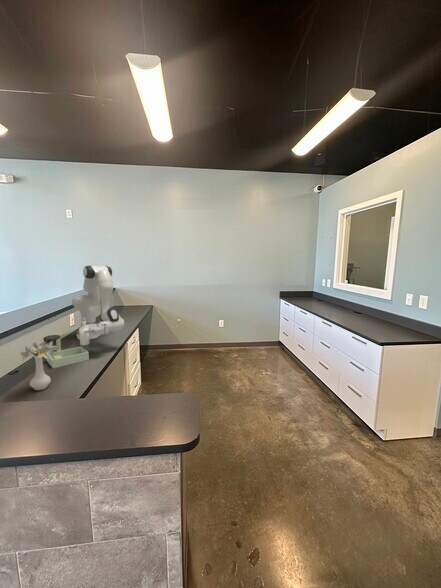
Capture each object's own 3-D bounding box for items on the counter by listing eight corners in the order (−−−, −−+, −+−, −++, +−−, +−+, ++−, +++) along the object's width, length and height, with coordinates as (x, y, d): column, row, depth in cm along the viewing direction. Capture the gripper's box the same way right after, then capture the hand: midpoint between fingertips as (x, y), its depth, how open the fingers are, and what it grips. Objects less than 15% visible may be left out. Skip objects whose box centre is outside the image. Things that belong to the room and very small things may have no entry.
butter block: (53, 361, 169) (53, 356, 168) (60, 360, 172) (59, 354, 171) (56, 365, 164) (55, 359, 164) (63, 363, 167) (62, 357, 166)
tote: (47, 362, 170) (46, 353, 169) (81, 354, 185) (81, 346, 185) (52, 369, 159) (52, 360, 158) (88, 360, 175) (88, 352, 174)
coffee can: (49, 359, 174) (48, 340, 172) (41, 356, 179) (40, 337, 177) (64, 354, 183) (63, 336, 181) (56, 352, 188) (55, 334, 186)
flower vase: (61, 378, 147) (59, 337, 144) (44, 395, 129) (41, 349, 126) (37, 379, 145) (34, 338, 142) (16, 396, 127) (12, 349, 124)
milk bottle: (78, 343, 179) (77, 318, 176) (87, 342, 183) (86, 317, 180) (81, 346, 175) (80, 320, 172) (90, 344, 179) (89, 318, 176)
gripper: (97, 320, 193) (77, 323, 183) (108, 326, 179) (87, 329, 169) (97, 328, 194) (78, 331, 184) (108, 334, 180) (88, 338, 170)
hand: (82, 330), depth 177 cm, fingers closed on milk bottle, 6 cm apart
